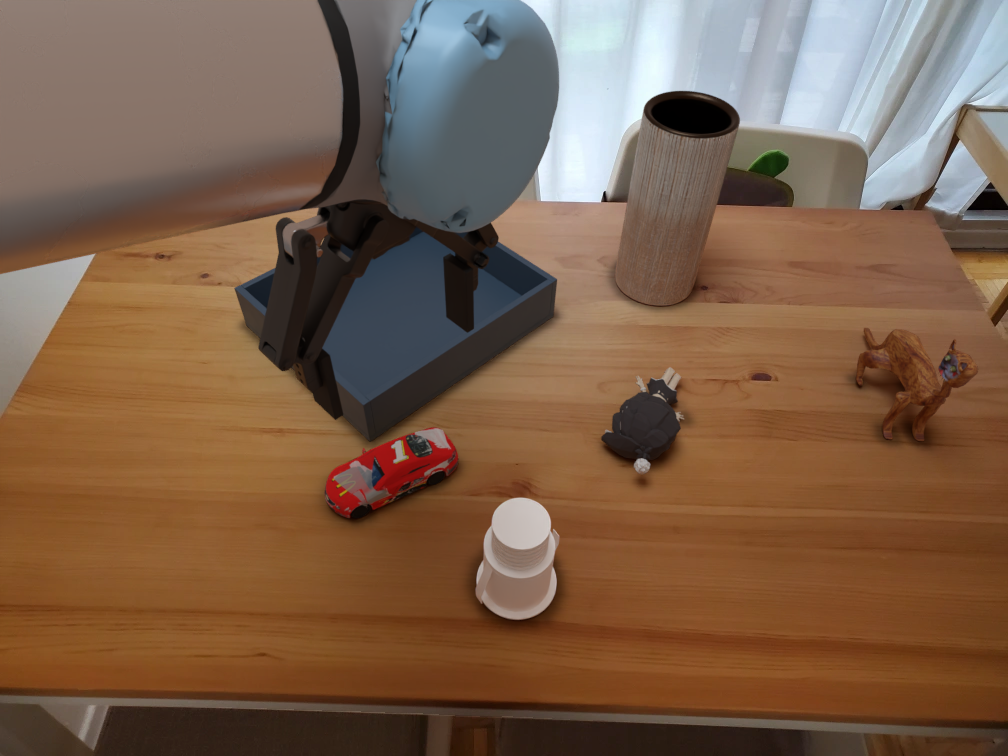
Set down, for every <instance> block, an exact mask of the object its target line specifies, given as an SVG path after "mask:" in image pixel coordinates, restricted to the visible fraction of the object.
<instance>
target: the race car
mask: <svg viewBox="0 0 1008 756" xmlns="http://www.w3.org/2000/svg"><path fill="white" fill-rule="evenodd" d="M361 453H362V454H360V455H359V456H357V457H355V458H353V459H351V460H349V461H347V462H344V463H343V464H340V465H338V466H336V467H335V468H334V469H332V470H331V471H330V473H329V474H328V476H327V479H326V481H325V486H324V492H323V493H324V500H325V502H326V503H327V505H328V507H329V508H330V509H331V511H333V512H335V513H336V514H338V515H339V516H341V517H344V518H348V519H351V517H352V518H353V519H360V518H363V517H365V516H366V515H368V513H369V512H370V511H371V509H372V511H374V510H376V509H379V508H381V507H384V506H385V505H387V504H390V503H392V502H395V501H397V500H400V499H402V498H403V497H406V496H408V495H410V494H412V493H415V492H417V491H419V490H422V489H424V488H426V487H428V486H427V484H428V485H430V486H433V485H437V484H439V483H440V482H441V481H443V480H444V478H445V476H446V477H449V476H450V475H451V474H452V473H453V472H454V471H455V470H456V469H457V468H458V465H459V460H460V458H459V454H458V450H457V449H456V446H455V444H454V443H453V441H452V440H451V439H450V437H448V435H447V434H446V432H445V431H444V430H443V429H442V428H440V427H436V426H432V427H427V428H424V429H421V430H418V431H414V432H411V433H408V434H405V435H402V436H399V437H397V438H394V439H392V440H389V441H387V442H384V443H382V444H379V445H376V446H375V447H373V448H370V449H369V450H367V451H366V449H365V447H362V451H361Z"/></svg>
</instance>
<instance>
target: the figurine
mask: <svg viewBox="0 0 1008 756" xmlns="http://www.w3.org/2000/svg"><path fill="white" fill-rule="evenodd" d="M634 378H635V380H636V381H635V382H634V383H635V384H636V385H637V386H638V387H639V388H640V389H639V390H640V392H637V393H636V394H635V395H633V396H632V397H630V398H627V399H625V400H624V402H623V403H622V404H621V405H620V406H619V411H617V412H615V413H613V415H612V419H611V422H612V423H611V430H612V431H611V430H608V429H605V430H604V434H602V436H601V437H600V439H601V441H602V442H603V443H604V444H605V445H606V446H607V447H609V448H610V449H611V450H612V451H614V453H616V454H618V455H619V456H620V457H623V458H625V459H631V460H636V461H634V463H633V468H634V469H635V472H636V473H637V474H640V475H645V474H647V473H648V472H649V471H650V470H651V469H650V468H651V463H650V462H649V461H653V460H656V459H658V458H659V457H660V456H661V454H663V453H665V452H667V451H668V450H669V449H670V448H671V445H672V443H674V442H675V440H676V438H677V434H678V433H679V432H680V431H681V429H682V428H681V424H680V421H681V420H683V421H684V420H685V418H684V415H685V414H681V413H682V412H681V411H678V412H676V411H675V410H674V408H673V407H672V405H674V404H677V403H679V400H678V398H677V396H678V391H677V389H676V388H677V386H678V385H679V382H680V381H681V379H682V376H681V375H680V374H679V373H678V372H676V371H675V369H673V368H672V367H671V366H669V367H668V368H666V369H665V371H664V372H663V375H662V376H661V377H660V378H657V379H656V378H653V377H650V379H649V382H647V383H646V387H647V388H646V387H645V384H644V381H643V378H642V377H640V376H639V375H637V376H636V375H635V377H634ZM647 390H648V391H647ZM680 419H681V420H680Z"/></svg>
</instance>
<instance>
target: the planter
mask: <svg viewBox="0 0 1008 756" xmlns="http://www.w3.org/2000/svg"><path fill="white" fill-rule="evenodd" d="M641 115H642V116H641V120H640V126H639V132H638V137H637V144H636V149H635V154H634V160H633V166H632V173H631V178H630V184H629V190H628V194H627V201H626V206H625V212H624V217H623V223H622V228H621V235H620V239H619V240H620V241H619V245H618V252H617V257H616V264H615V271H614V280H615V283H616V285H617V287H618V288H619V290H620V291H621V292H622V293H623V294H625V296H627V297H628V298H630V299H632V300H634V301H636V302H639V303H642V304H645V305H651V306H671V305H675V304H678V303H681V302H682V301H684V300H685V299H687V298H688V297H689V296H690V295H691V292H692V291H693V288H694V285H695V284H696V283H695V282H696V280H697V276H698V272H699V269H700V266H701V261H702V259H703V255H704V252H705V249H706V244H707V241H708V237H709V234H710V232H711V231H710V230H711V227H712V224H713V220H714V216H715V212H716V209H717V205H718V203H719V199H720V195H721V192H722V188H723V184H724V181H725V177H726V174H727V171H728V167H729V162H730V160H731V156H732V152H733V149H734V146H735V142H736V138H737V136H738V135H737V134H738V132H739V128H740V123H741V117H740V114H739V113H738V111H737V109H736V108H735V107H734V106H733V105H732V104H731V103H729V102H727V101H725V100H724V99H722V98H719V97H717V96H715V95H711V94H709V93H705V92H699V91H693V90H671V91H666V92H661V93H659V94H656V95H654V96H653V97H651V98H649V99H648V100H647V101H646V103H645V104H644V106H643V110H642V114H641Z"/></svg>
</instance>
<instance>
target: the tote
mask: <svg viewBox="0 0 1008 756" xmlns="http://www.w3.org/2000/svg"><path fill="white" fill-rule="evenodd" d="M455 233H456V234H458V235H459V236H460V237H462V238H463V237H464V236H465V235H466V234H467V232H463V233H457V232H455ZM409 239H410V240H409V241H407V242H406V243H404V244H402V245H399V246H395V247H392V248H390V249H389V250H388V251H387V252H386V253H385V254H383V255H382V256H380V257H378V258H376V259H371V261H370V263H369V265H368V267H367V269H366V271H365V273H364V275H363V276H362V277H361V278H356V279H355V281H354V283H353V285H352V287H351V289H350V291H349V293H348V295H347V297H346V299H345V302H344V304H343V306H342V308H341V310H340V312H339V314H338V316H337V318H336V320H335V322H334V324H333V327H332V329H331V331H330V333H329V335H328V337H327V339H326V341H325V343H324V345H323V347H322V349H324V350H325V351H326V352H327V353H328V354H329V355H330V357H331V362H332V366H333V371H334V375H335V379H336V384H337V388H338V393H339V397H340V401H341V406H342V410H343V414H344V415H342V416H341V417H343V418H344V419H345V420H346V421H347V422H348V423H349V424H351V426H352V427H353V428H355V429H356V430H357V431H358V432H359V433H360V434H361V435H362V436H363V437H364V438H365V439H366V440H367V441H368V442H369V443H371V442H372V441H374V440H375V439H377V438H378V437H379V436H381V435H383V434H384V433H386V432H387V431H388V430H390V429H391V428H392V427H394V426H395V425H397V424H398V423H400V422H402V421H403V420H404V419H406V418H407V417H409V416H410V415H412V414H413V413H414V412H416V411H417V410H419V409H420V408H422V407H423V406H425V405H426V404H427V403H429V402H431V401H432V400H434V398H437V397H438V396H439V395H441V394H442V393H444V392H445V391H447V390H448V389H449V388H451V387H453V386H454V385H455V384H457V383H459V382H460V381H461V380H463V379H464V378H466V377H467V376H469V375H470V374H472V373H473V372H474V371H476V370H478V369H479V368H481V367H482V366H484V364H486V363H488V362H489V361H491V360H492V359H493V358H496V356H497V355H499V354H501V353H502V352H504V351H505V350H507V349H508V348H509V347H511V346H513V345H514V344H515V343H517V342H518V341H520V340H521V339H523V338H524V337H526V336H527V335H529V334H530V333H532V332H533V331H534V330H536V329H537V328H539V327H541V326H542V325H543V324H545V323H546V322H547V321H549V320H551V319H552V318H553V317H554V315H555V306H556V295H557V286H558V278H556V277H554V275H551V274H550V273H548V272H547V271H545V270H544V269H542V268H540V267H539V266H538V265H536V264H535V263H533V262H532V261H530V260H528V259H526V258H525V257H523V256H522V255H520V254H519V253H518V252H515V251H514V250H512V248H510V247H508V246H506V245H505V244H503V243H501V242H500V241H498V243H497V244H496V246H495V247H493V248H489V247H486V248H485V249H484V250H483V251H482V252H483V253H484V254H486V255H487V256H488V257H489V262H488V264H487V266H486V267H485V268H483V269H479V268H478V286H477V290H475V291H474V329H473V330H471V331H470V332H468V333H467V332H466V331H464V330H463V329H462V328H460V327H459V326H458V325H456V324H455V323H454V322H452V321H451V320H449V319H448V318H447V317H446V302H445V283H444V265H443V257H444V256H446V255H448V254H449V253H451V254H452V255H454V256H455V252H454V251H452V250H451V249H449V248H448V247H446V246H445V245H443V244H442V243H440V242H439V241H437V240H436V239H434V238H433V237H431V236H430V235H428V234H427V233H425V232H424V231H422V230H421V229H419V228H418V227H416V228H415V230H414V232H413V233H412V234H411V235H410V236H409ZM341 252H342V253H343V254H345V255H346V256H347V257H349V258H350V259H351V257H352V255H353V253H354V252H353V251H351V250H350V249H348V248H347V247H345V246H344V245H343V244H342V246H341ZM319 261H320V257H317V266H318V264H319ZM275 268H276V267H274V268H272V269H270V270H268V271H266V272H264V273H262V274H260V275H257V276H256V277H254V278H252V279H250V280H247V281H245V282H244V283H242V284H239V285H237V286H235V287H234V291H235V292H234V293H235V295H236V298H237V301H238V304H239V307H240V310H241V313H242V316H243V319H244V322H245V325H246V327H247V328H248V329H249V330H250V331H251V332H252V333H254V334H255V335H256V336H257V337H258V339H260V338H261V333H262V328H263V324H264V319H265V314H266V310H267V305H268V300H269V296H270V291H271V286H272V282H273V277H274V272H275ZM290 369H292V370H293V371H294V372H295V369H294V366H292V367H291V368H290Z"/></svg>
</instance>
